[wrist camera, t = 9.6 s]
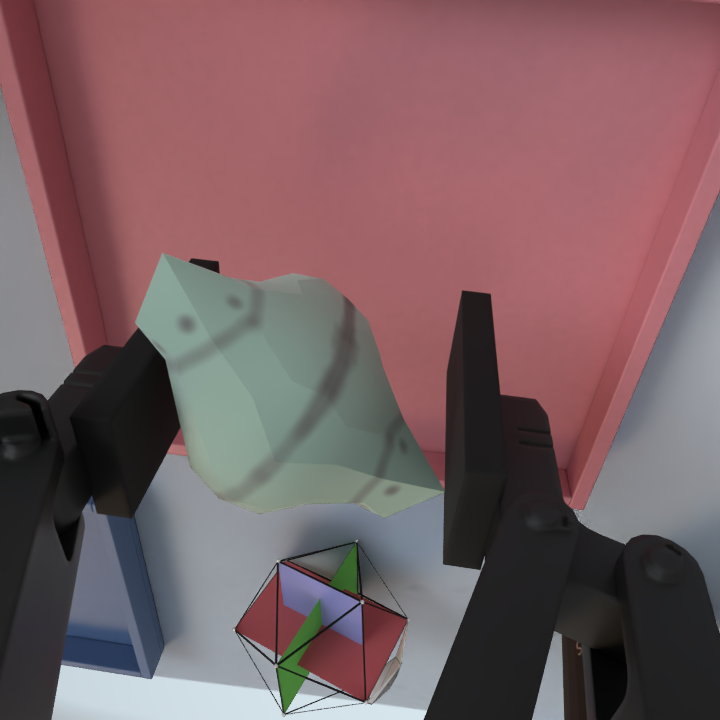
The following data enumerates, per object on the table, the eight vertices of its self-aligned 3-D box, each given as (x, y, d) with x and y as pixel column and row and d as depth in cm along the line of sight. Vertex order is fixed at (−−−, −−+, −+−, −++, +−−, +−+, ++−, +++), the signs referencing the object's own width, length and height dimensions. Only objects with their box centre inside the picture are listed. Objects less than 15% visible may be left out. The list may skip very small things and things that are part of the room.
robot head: (467, 358, 18) (469, 556, 12) (366, 425, 20) (329, 621, 14) (253, 150, 15) (133, 283, 9) (162, 253, 17) (20, 412, 11)
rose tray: (116, 411, 26) (94, 444, 24) (3, -94, 16) (-48, -95, 14) (575, 472, 25) (583, 511, 23) (772, -28, 15) (812, -22, 13)
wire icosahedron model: (225, 631, 31) (291, 788, 26) (204, 546, 27) (279, 711, 22) (348, 569, 34) (433, 698, 28) (347, 484, 30) (444, 615, 24)
